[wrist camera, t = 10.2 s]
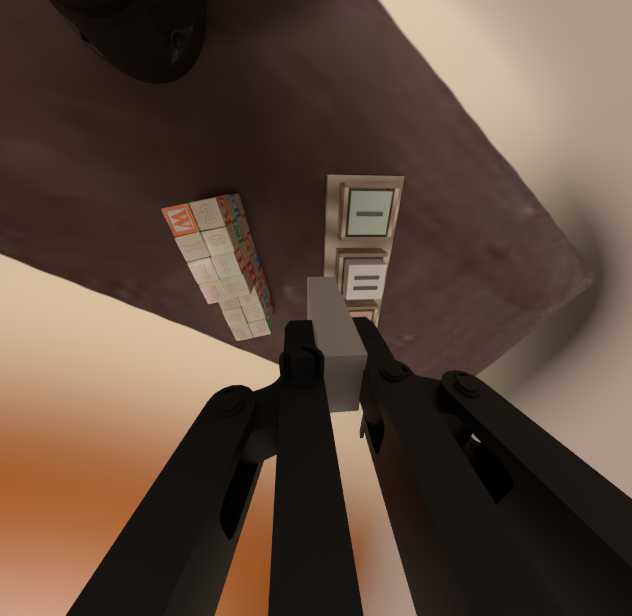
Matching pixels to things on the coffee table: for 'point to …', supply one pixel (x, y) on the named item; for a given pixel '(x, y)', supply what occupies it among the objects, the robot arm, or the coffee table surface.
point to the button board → (356, 246)
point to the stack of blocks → (224, 261)
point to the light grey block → (368, 212)
